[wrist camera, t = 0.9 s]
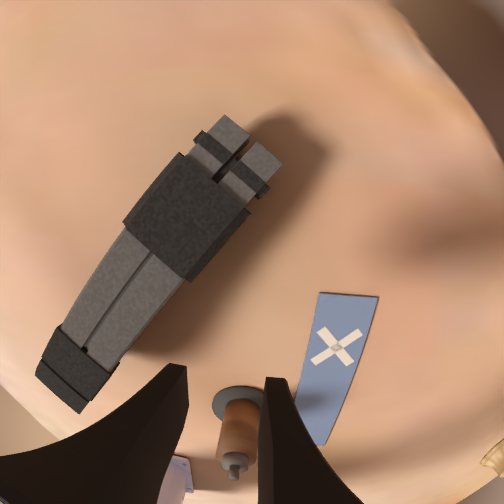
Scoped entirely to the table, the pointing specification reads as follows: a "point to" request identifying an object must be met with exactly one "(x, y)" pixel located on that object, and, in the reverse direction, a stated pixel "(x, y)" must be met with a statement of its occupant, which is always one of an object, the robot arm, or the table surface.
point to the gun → (155, 257)
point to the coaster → (235, 393)
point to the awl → (238, 436)
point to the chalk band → (332, 359)
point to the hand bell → (495, 458)
